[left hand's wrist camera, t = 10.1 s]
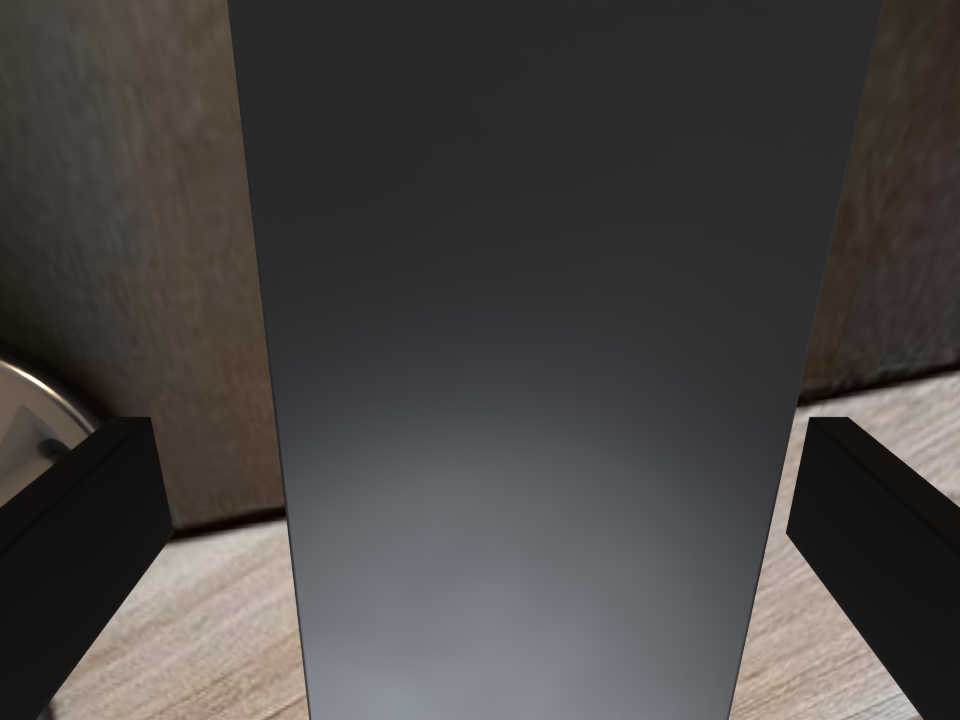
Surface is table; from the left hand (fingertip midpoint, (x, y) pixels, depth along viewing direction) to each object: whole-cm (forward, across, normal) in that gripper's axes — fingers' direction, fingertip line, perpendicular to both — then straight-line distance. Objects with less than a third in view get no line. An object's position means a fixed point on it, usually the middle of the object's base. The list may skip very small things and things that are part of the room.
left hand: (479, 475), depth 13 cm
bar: (+3, -1, -9) cm, 9 cm away
